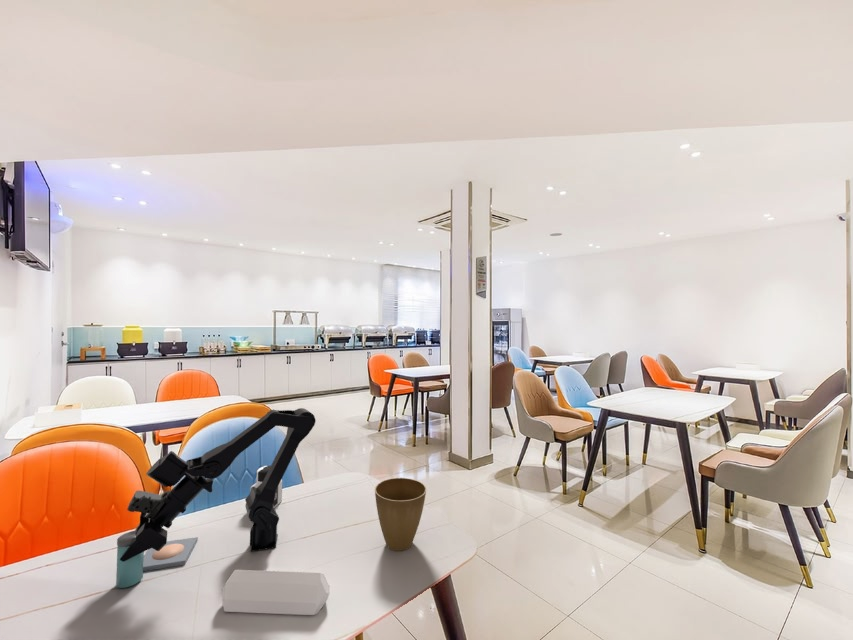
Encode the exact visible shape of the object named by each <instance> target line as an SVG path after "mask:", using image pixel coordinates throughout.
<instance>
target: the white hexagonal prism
mask: <svg viewBox="0 0 853 640" xmlns="http://www.w3.org/2000/svg"><path fill="white" fill-rule="evenodd" d="M330 587H331V586H330V583H329V582H328V580H327V578H326V576H325V573H323V572H322V573H321V572H305V571H303V572H302V571H300V572H299V571H279V570H277V571H276V570H272V571H271V570H255V569H254V570H251V569H250V570H248V569H234V570H233V572H232V573H231V575H230V576H229V578H228V579H227V581H226V582H225V584H224V587H223V588H222V596H221V597H222V599H221V600H222V606H223V607H222V608H223V611H224V612H230V613H254V614H257V613H258V614H276V615H277V614H278V615H279V614H280V615H281V614H282V615H301V616H302V615H304V616H315V615H317V614H318V613H319V612H320V610H322V609H323V608H322V607H323V606H324V605H325V604H326V603H327V601H328V600H329V596H330V593H331V592H330Z"/></svg>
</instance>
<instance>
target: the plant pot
mask: <svg viewBox="0 0 853 640" xmlns="http://www.w3.org/2000/svg"><path fill="white" fill-rule="evenodd" d="M426 495H427V486H426V485H425V484H424V483H422V482H421V481H419V480H416V479H414V478H407V477H406V478H405V477H394V478H393V477H392V478H387V479H384V480H382V481H380V482H378V483H377V484H376V485H375V488H374V496H375V503H376V504H375V505H376V510H377V517H378V520H379V524H380V528H381V529H380V530H381V533H382V537H383V539H384V542H385V545H386V547H387V548H388V549H390V550H391V551H395V552H402V550H403V551H406V550H408V549H409V548H411V546H412V544H413V542H414V539H415V538H416V537H415V536H416V534H417V531H418V528H419V525H420V522H421V518H422V514H423V510H424V505H425V499H426Z"/></svg>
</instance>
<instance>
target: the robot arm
mask: <svg viewBox="0 0 853 640" xmlns="http://www.w3.org/2000/svg"><path fill="white" fill-rule="evenodd" d="M315 424H316V418H315V415H314V414H313V413H312V412H310V411H309V410H308V409H306V408H303V407H300V408H297V409H295V410H291V409H283V410H279V409H271V410H269V411H267V412H266V413H265V414H264V415H263V416H262V417H260V418H259V419H257V420H256V421H255V422H254V423H252V424H251V425H249V426H248V427H247V428H245V429H244V430H243V431H242V432H240V433H239V434H237V435H236V436H235V437H234V438H232V439H230V441H227V442H225V443H223V444H221V445H218V446H216V447H213V448H211V450H209V451H207V452H205V453H204V454H202V456H198V457H195V458H191V459H188V460H187V459H186V461H185V460H184V459H183V458H181V457H180V456H179V455H178V454H176V453H175V451H172V450H171V451H169V452H168V453H167V454H165V455H164V456H162V457H161V458H159V459H158V460H157V461H155V463H153V465H151V466H150V468H149V469H148V471H147V472H146V476H147V477H149V478H151V479H153V480H154V481H155V482H157V483H158V484H160V485H162V486H163V487H164V488H167V487H169V488H171V490H166V491H164V492H163V493H162V494H157V493H154V492H150V491H145V490H136V491H135V493H134V494H133V496H132V497H131V500H130V501H129V503H128V506H127V509H126V510H127V511H128V512H132V513H135V512H138V513H140V515H139V524H138V525H137V526H136V528H135V529H134V531H136V538H135V540H134V541H133V542H132V544H131V545H130V546H129V547H128V549H127V550H126V551H125V553H124V554H123V555H122V557H121V558H120V560H121V561H122V562H124V561H126V560H128V559H130V558H132V557H134V556H136V555H138V554H140V553H142V552H144V553H145V552H147V551H148V549H151V548H153V549H155V550H156V551H160V550H161V549H162V548H163V546H164V545H165V544H166V543H167V540H168V530H166V529H170V527H172V525H173V521H174V520H175V519H176V518H177V517H178V516H179V515H180V514H184V513H185V512H186V511H187V507H188V506H189V505H190V503H192V501H194V499H196V497H197V496H199V494H200V493H201V492H202V491H203V490H205V491H207V492H208V493H212V492H213V483H214V479H217V478H218V477H220V476H221V475H222V474H223V473H224V472H225V471H226V470H228V468H230V467H231V465H232V464H233V462H234V461H235V459H236V458H237V457H238V456H240V454H241V453H242V452H244V451H245V450H247V449H248V448H249V447H250V446H252V445H253V444H254V443H256V442H257V441H259V439H261V438H262V437H264V435H266V434H267V433H268V432H270V431H271V430H273V428H276V427H283V428H284V427H285V428H287V429H286V435H285V438H284V440H283V441H282V444H281V446H280V447H279V449H278V451H277V453H276V455H275V457H274V459H273V460H272V463H271V465H270V466H271V467H270V469H269V471H268V473H267V474H266V476H265V478H264V480H263V482H262V483H261V484H260V485H259V486H258V487H257V488H256V487H254V486H253V485H252V486H253V487H252V486H251V487H252V488H251V491H250V490H249V494H248V495H247V497H246V498H245V507H244V508H245V510H246V513H247V516H248V519H249V521H250V522H251V523H252V526H251V528H250V531H249V546H250V551H251V552H257V551H262V550H264V551H265V550H269V549H275V548H277V544H278V543H277V542H278V536H279V535H278V524H279V522H280V521H279V520H280V517H279V515H278V512H277V511H276V509H275V508H274V507H273V504H274V500H275V494H276V490H277V487H278V485H279V483H280V481H281V479H282V480H283V477H284V475H285V474H286V471H287V469H288V467H289V465H290V464H291V461H292V459H293V457H294V455H295V453H296V451H297V449H298V447H299V445H300V443H301V442H302V441H303V440H304V439H305V438H306V437H307V436H308V435H309V434H310V432H311V431H312V430H313V428H314V427H315ZM172 487H173V488H172ZM163 527H165V528H166V529H165V528H163Z"/></svg>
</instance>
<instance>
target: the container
mask: <svg viewBox="0 0 853 640" xmlns="http://www.w3.org/2000/svg"><path fill="white" fill-rule="evenodd" d="M270 467H271V465H263V466H261V467H259V468H258V469H257V470H256V483H254V484H253V485H251V486H250V488H249V492H250V491H251V488H252V487H253V486H254V487H256V488H257V487H258V486H259V485H260V484H261V483H262V482H263V480H264V478H265V476H266V474H267V473H268V471H269V469H270ZM282 501H283V478H282V479H281V481H280V483H279V485H278V487H277V490H276V494H275V500H274V504H273V507H274V509H275V508H276V507H277V506H278V505H279V504H280V503H281V502H282Z"/></svg>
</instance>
